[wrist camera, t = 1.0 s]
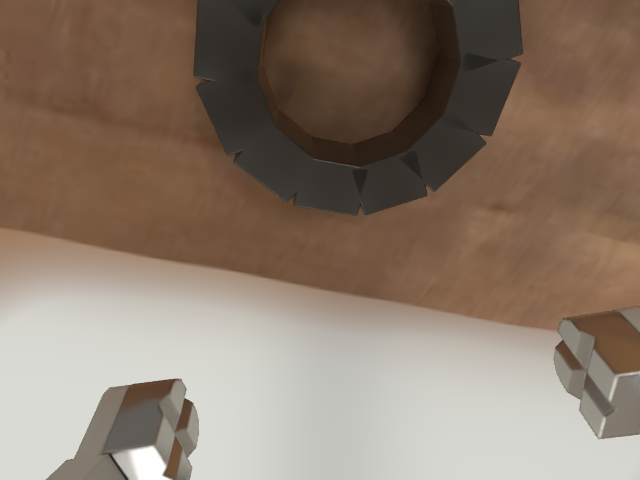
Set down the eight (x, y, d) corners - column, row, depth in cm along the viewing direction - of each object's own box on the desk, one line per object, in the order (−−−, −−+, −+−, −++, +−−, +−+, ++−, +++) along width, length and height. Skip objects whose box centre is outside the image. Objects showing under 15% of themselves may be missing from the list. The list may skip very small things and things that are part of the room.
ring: (199, 164, 22) (186, 189, 19) (222, -162, 16) (207, -190, 13) (435, 204, 23) (453, 232, 21) (539, -74, 17) (582, -83, 15)
